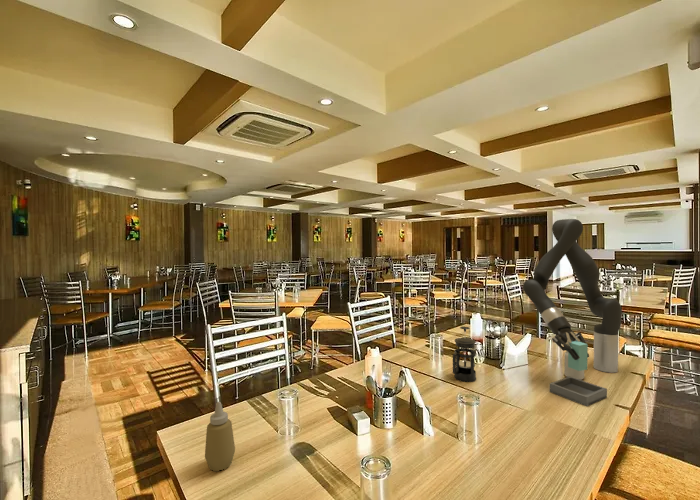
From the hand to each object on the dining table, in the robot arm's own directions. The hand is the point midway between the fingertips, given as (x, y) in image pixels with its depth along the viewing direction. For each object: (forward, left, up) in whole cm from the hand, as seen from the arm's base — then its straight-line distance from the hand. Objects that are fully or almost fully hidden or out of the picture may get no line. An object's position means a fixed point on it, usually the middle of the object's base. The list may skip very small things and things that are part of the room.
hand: (582, 358), depth 134 cm
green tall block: (0, -2, -5) cm, 5 cm away
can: (-16, -12, -15) cm, 25 cm away
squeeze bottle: (+130, -28, -15) cm, 134 cm away
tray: (0, -2, -15) cm, 15 cm away
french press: (+26, -36, -15) cm, 47 cm away
